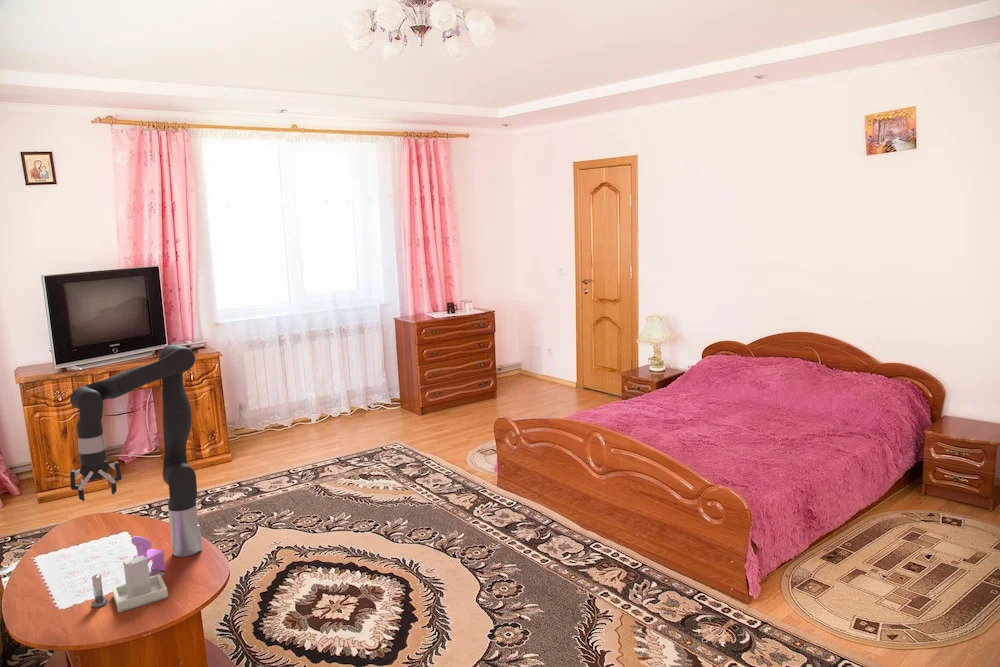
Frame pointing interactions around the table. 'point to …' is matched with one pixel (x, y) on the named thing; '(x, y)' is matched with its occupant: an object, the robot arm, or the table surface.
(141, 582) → the skincare box
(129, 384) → the robot arm
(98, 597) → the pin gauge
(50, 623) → the table surface
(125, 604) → the tray
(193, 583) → the table surface
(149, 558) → the toy chair
